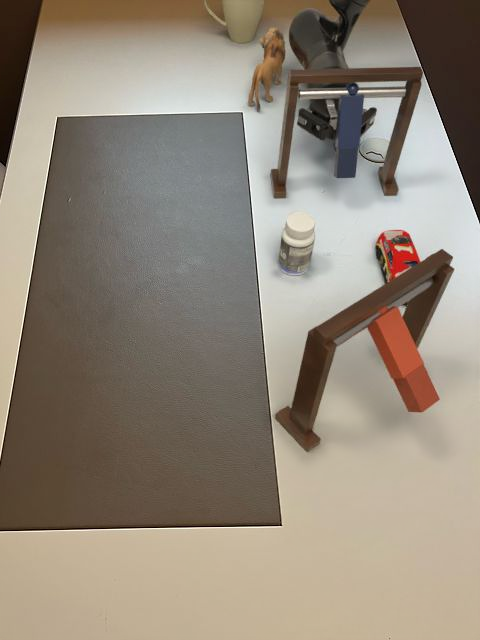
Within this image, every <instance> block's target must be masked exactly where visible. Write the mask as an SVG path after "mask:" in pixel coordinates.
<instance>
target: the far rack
mask: <svg viewBox="0 0 480 640" xmlns="http://www.w3.org/2000/svg"><path fill="white" fill-rule="evenodd" d="M423 75H424V71H423V69H422V66H397V67H396V66H394V67H389V66H388V67H355V68H354V67H353V68H352V67H349V68H346V69H304V68H303V69H289V73H288V77H287V83H286V92H285V100H284V109H283V117H282V125H281V135H280V142H279V150H278V151H279V152H278V159H277V168H271V169H270V175H269V176H270V183H271V189H272V196H273V199H286V198H287V193H288V192H287V187H286V186H287V178H288V171H289V164H290V156H291V149H292V141H293V136H294V135H293V134H294V128H295V119H296V112H297V103H298V91H299V89H300V84H301V85H303V84H304V85H306V84H308V83H350V82H355V83H388V82H405V87H406V94H405V96H404V97H401V99H400V103H399V107H398V110H397V115H396V118H395V122H394V124H393V129H392V132H391V135H390V139H389V142H388V146H387V150H386V153H385V157H384V161H383V163H382V166H378V171H377V174H378V175H377V176H378V177H379V181H380V185H381V188H382V192H383V195H384V196H387V197H388V196H389V197H390V196H398V192H399V187H398V183H397V180H396V177H395V174H396V171H397V168H398V165H399V161H400V159H401V155H402V151H403V148H404V145H405V141H406V139H407V135H408V132H409V128H410V126H411V121H412V119H413V115H414V111H415V109H416V105H417V101H418V98H419V95H420V92H421V89H422V86H423V83H422V78H423Z"/></svg>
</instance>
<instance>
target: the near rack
mask: <svg viewBox="0 0 480 640" xmlns="http://www.w3.org/2000/svg"><path fill="white" fill-rule="evenodd" d="M453 259H454V256H452V255H451V254H450V253H449V252H447V251H446V250H444V249H443V248H441V249H439V250H438V251H436V252H435V253H431V254H430V255H429V256H426V258H425V259H423V260H422V261H421V260H420V263H418V264H417V265H415V266H413V267H412V268H410V269H409V270H407V271H405V272H404V273H402V274H401V275H399V276H397V277H396V278H394V279H393V280H391V281H389V282H388V283H385V284H383V285H382V286H380V287H377V289H375V290H373V291H372V292H370V293H369V294H367V295H364V296H363V297H361V298H360V299H359V300H357V301H355V302H354V303H353V304H351V305H349V306H347V307H346V308H344V309H342V310H341V311H340V312H338V313H336V314H335V315H333V316H331V317H330V318H328V319H327V320H325V321H323V322H322V323H320V324H319V325H316V326H314V327H312V328H311V329H309V330H308V331H307V336H306V339H305V340H306V341H305V345H304V349H303V352H302V353H303V354H302V358H301V363H300V368H299V371H298V376H297V381H296V384H295V385H296V386H295V390H294V394H293V398H292V404H291V406H289V405H286V406H285V407H283V408H282V409H280V410H279V411H277V412H276V413H275V416H274V419H275V420H276V421H277V422H278V423H279V424H280V426H282V427H283V429H284V430H285V431H286V432H287V433H288V434H289V435H290V436H291V437H292V438H293V439H294V440H295V441H296V443H298V444H299V445H300V446H301V448H302V449H304V451H305V452H306V453H309V452H311V451H312V450H313V449H315V448H316V447H317V446H319V445H320V443H321V441H322V439H321V437H319V435H317V434H316V432H315V431H314V427H315V423H316V419H317V416H318V412H319V408H320V406H321V402H322V399H323V395H324V391H325V388H326V386H327V382H328V378H329V375H330V370H331V368H332V365H333V361H334V357H335V353H336V351H337V348H338V347H337V344H336V343H335V342H334V341H333V339H335V338H336V337H338V336H339V335H341V334H342V333H344V332H346V331H347V330H349V329H350V328H352V327H353V326H355V325H357V324H358V323H360V322H361V321H363V320H364V319H366V318H368V317H369V316H371V315H372V314H374V313H375V312H377V311H378V310H380V309H382V308H383V307H385V306H386V305H388V304H389V303H391V302H393V301H394V300H396V299H397V298H399V297H400V296H402V295H404V294H405V293H407V292H408V291H410V290H411V289H413V288H415V287H416V286H418V285H419V284H421V283H422V282H424V281H425V280H427V279H429V278H430V277H432V279H433V281H434V283H433V285H432V286H431V287H429V288H428V289H426V290H425V291H423V292H421V293H420V294H418V295H417V296H415V297H414V298H412V299H411V300H409V302H408V304H406V307H405V309H404V312H403V314H402V317H403V320H404V322H405V324H406V326H407V328H408V330H409V332H410V334H411V337H412V339H413V341H414V343H415V345H416V347H417V349H419V347H420V344H421V343H422V340H423V338H424V336H425V334H426V332H427V329H428V327H429V325H430V323H431V321H432V319H433V317H434V315H435V313H436V310H437V308H438V307H439V304H440V302H441V300H442V298H443V295H444V293H445V291H446V289H447V286H448V284H449V282H450V280H451V279H452V276H453V273H455V268H454V267H453V266H451V263H452V261H453Z"/></svg>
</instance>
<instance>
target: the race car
mask: <svg viewBox="0 0 480 640" xmlns="http://www.w3.org/2000/svg"><path fill="white" fill-rule="evenodd" d="M414 244H415V243H414V242H413V239H412V237H411V235H410V233H408V232H407V231H406V230H404V229H389V230H388V229H387V230H385V231H382V232H381V233H380V235H379V236H378V237H377V240H376V243H375V256H376V259H377V260H378V264H379V266H380V269H381V274H382V277H383V280H384V282H385V284H386V283H388V282H389V281H391V280H393V279H394V278H396V277H397V276H399V275H401V274H402V273H404V272H405V271H407V270H409V269H410V268H412V267H413V266H415V265H417V264H418V263H420V262H421V260H420V257H419V253H418V251H417V249H416V246H415V245H414ZM408 302H409V301H407V302H406V303H404V304H403V305H407V304H408Z"/></svg>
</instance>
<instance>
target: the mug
mask: <svg viewBox="0 0 480 640" xmlns="http://www.w3.org/2000/svg"><path fill="white" fill-rule="evenodd" d="M221 1H222V11H223V16H224V20H222V19H221V18H220V17H219V16H217V14H215V13H214V11H212V10H211V8H210V7H209V5H208V2H207V0H203V4H204V7H205V9H206V11H207V13H209V15H210V16H211V17H212V18H213V19H214V20H215V21H216V22H217V23H219V24H221V26H223V27H226V28H227V31H228V36H229V39H230V40H231V41H232V42H233V43H237V44H247V43H250V42H251V41H253V39H254V37H255V35H256V32H257V29H258V26H259V23H260V20H261V18H262V14H263V11H264V6H265V1H266V0H221Z"/></svg>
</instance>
